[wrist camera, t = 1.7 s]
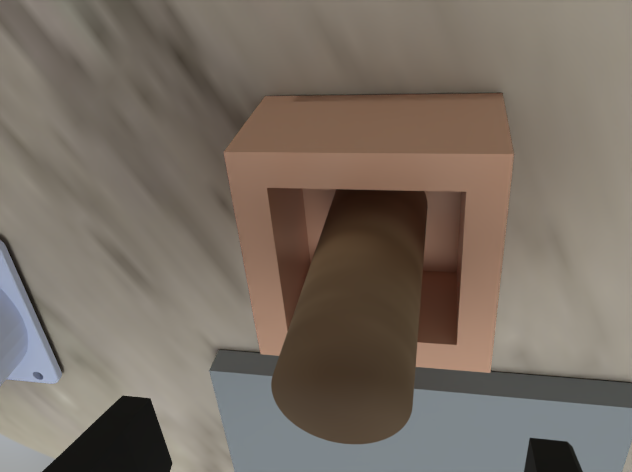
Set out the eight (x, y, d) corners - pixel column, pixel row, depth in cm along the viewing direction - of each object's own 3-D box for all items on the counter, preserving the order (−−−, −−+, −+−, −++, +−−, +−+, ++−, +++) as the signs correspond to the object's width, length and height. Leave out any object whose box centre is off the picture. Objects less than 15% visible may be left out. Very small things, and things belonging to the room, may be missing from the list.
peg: (336, 242, 20) (279, 436, 14) (330, 162, 18) (262, 339, 12) (426, 246, 19) (412, 451, 13) (428, 164, 18) (413, 351, 11)
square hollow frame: (289, 278, 22) (260, 354, 19) (264, 96, 18) (223, 151, 15) (484, 288, 20) (490, 373, 17) (502, 92, 17) (513, 154, 13)
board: (246, 468, 29) (239, 490, 28) (218, 349, 25) (209, 370, 24) (595, 511, 26) (600, 537, 25) (633, 383, 22) (641, 409, 21)
